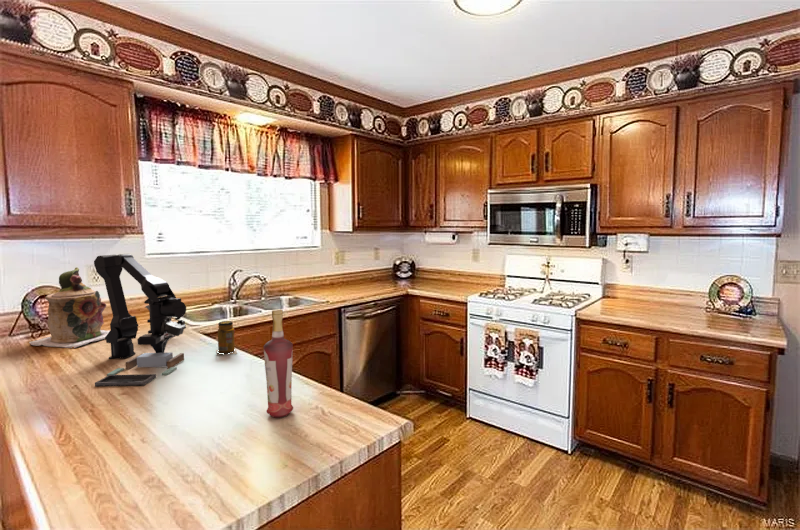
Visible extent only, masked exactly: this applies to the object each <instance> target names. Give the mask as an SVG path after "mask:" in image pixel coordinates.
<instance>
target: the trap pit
mask: <svg viewBox="0 0 800 530" xmlns="http://www.w3.org/2000/svg"><path fill="white" fill-rule="evenodd" d="M155 379H157V375H156V374H154V373H153V374H152V373H151V374H148V373H146V374H144V373H143V374H115V375H108V376H107V375H106V376H105V377H103V378H101V379H99V380H97V381H96V382H94V388H95V387H144V386H146V385H148V384H149V383H150V382H152V381H154V380H155Z"/></svg>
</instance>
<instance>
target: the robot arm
mask: <svg viewBox="0 0 800 530" xmlns="http://www.w3.org/2000/svg"><path fill="white" fill-rule="evenodd" d="M93 265H94V268H95V270H96V273H97V274H98V275H99V276H100V277H101V278H102V279H103V281H104V284H105V288H106V293H107V296H108V297H107V298H108V301H109V305H110V309H111V313H112V319H111V320H110V324H109V329H110V332H109V333H108V334H107V336H106V337H105V339H104V340H105V342H106V343H107V344H110V352H111V353H110V356H109V357H108V359H111V360H112V359H113V360H114V359H116V360H117V359H128V358H129V357H131V356H133V355H136V351H135V347H134V342H133V340H134V339H136V338H137V335H138V331H139V323H138V321H137V319H138V318H137V316H136V315H131V314H130V313H129V310H128V306H127V301H126V298H125V293H124V289H123V286H122V285H123V284H122V282H121V281H122V280H121V274H122V271H123V270H125V272H127V274H129V275H130V276H131V277H132V278H133V279H134V280H136V281H137V283H138V284H140V288H141V291H142V292H143V295H145V296H146V300H144V301H143V303H144V304H148V305H149V310H148V311H149V313H148V314H149V318H148V319H147V320H146V323H147V324H148V323H149V325H150V326H149V328H150V329H149V330H148V331H147V334H143V335H141V336H139V337H138V338H137V340H136V341H137V345H138V346H147V345H148V346H151V348H152V349H153V350H154V353H165V350H166V347H167V344H168V342H169V340H171V339H172V338H173V337H172V336H169V334H168V333H170V334H173V335H174V337H179V336H181V335H183V333H184V331H185V329H186V328H187V327H186V325H187V324H186V321H185V320H184V319H178V320H176V321H172V318H177V317H181V318H182V317H184V316H185V314H186V312H187V306H186V304H185V302H183V301H182V298H181V297H180V298H177V297H176V294H175V293H174V292H173V290H172V289H171V287H170V285H169V283H168V282H167V281H165V280H164V279H162V277H158V276H155V275H153V274H152V273H151V272H149V271H148V270H147V269H146V268H145V267H144V266H143V265H142V264H141V263H139V262H138V261H137V260H136V259H135V257H134V256H133V255H132V254H131V253H123V254H121V253H119V254H110V255H109V254H107V255H97V256H96V257H95V259H94V261H93ZM170 317H172V318H170Z"/></svg>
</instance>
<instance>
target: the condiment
mask: <svg viewBox="0 0 800 530" xmlns="http://www.w3.org/2000/svg"><path fill="white" fill-rule="evenodd" d="M234 330H235V327H234V325H233V321H231V320H223V321H220V322H218V329H217V349H215V353H216V356H230V355H234V354H235V355H236V354H238V353H237V349H236V347H235V333H234ZM234 349H235V351H234ZM218 350H219V351H218ZM217 351H218V352H219V353H224V355H222V354H219V353H217ZM230 352H233V353H230ZM228 353H230V355H229V354H228ZM227 354H228V355H227Z"/></svg>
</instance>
